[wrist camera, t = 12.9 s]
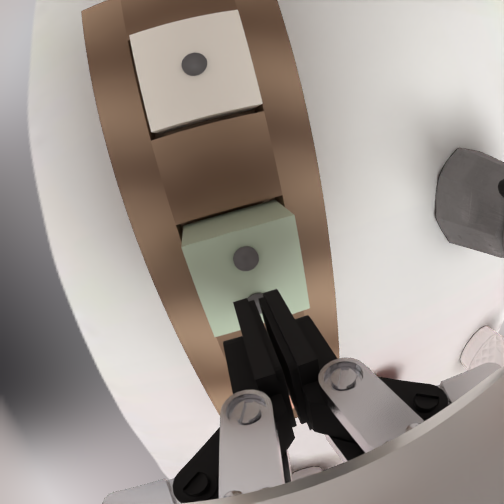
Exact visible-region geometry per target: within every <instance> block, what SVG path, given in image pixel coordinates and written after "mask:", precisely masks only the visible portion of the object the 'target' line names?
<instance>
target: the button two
mask: <svg viewBox="0 0 504 504" xmlns="http://www.w3.org/2000/svg"><path fill="white" fill-rule="evenodd" d="M181 248H182V251H183V254H184V257H185V259H186V262H187V265H188V268H189V271H190V274H191V276H192V279H193V282H194V285H195V287H196V290H197V293H198V296H199V298H200V301H201V304H202V306H203V309H204V311H205V314H206V317H207V319H208V322H209V324H210V327H211V329H212V332H213V334H214V337H218V336H221V335H225V334H228V333H232V332H236V331H239V330H241V329H240V326H239V322H238V318H237V315H236V311H235V308H234V304H233V302H235V301H238V300H242V299H245V298H247V299H248V301H252V300H254V301H255V304H256V306H257V309H258V311H259V313H260V316H261V318H262V321H263V323H264V319H263V315H262V311H261V308H260V304H259V300H258V298H262V297H263V293H265V292H268V291H271V290H274V289H278V291H279V293H280V294H281V296H282V298H283V300H284V301H285V303H286V305H287V306H288V308H289V310H290V312H291V313H292V314H294V313H297V312H300V311H303V310H306V309H309V308H310V305H309V298H308V292H307V285H306V279H305V273H304V266H303V260H302V254H301V249H300V243H299V237H298V231H297V226H296V220H295V215H294V214H293V213H291V212H290V211H289V210H288V209H286V208H285V207H284V206H282V205H281V204H280V203H279V202H277V201H276V200H273V201H269V202H265V203H261V204H257V205H254V206H250V207H246V208H243V209H239V210H235V211H232V212H228V213H225V214H221V215H218V216H214V217H211V218H207V219H204V220H200V221H197V222H194V223H190V224H187V225H184V226H183V235H182V245H181Z"/></svg>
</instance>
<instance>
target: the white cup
mask: <svg viewBox="0 0 504 504" xmlns="http://www.w3.org/2000/svg"><path fill="white" fill-rule="evenodd" d="M460 361H461V364H462V365H463V366H464V367H465V368H466V369H467V371H468V370H471V369H473V368H475V367H477V366H479V365H482V364H484V363H488V362H490V363H496V364H498V365H500V366H501V367H503V366H504V336H502V335H501V334H498V333H497V332H496V331H494V330H493V329H492V328H490V327H488V326H484V327H483V328H481V329H479V330H478V331H477V332H476V333H475V334H474V335H473V337H472V338H471V339H470V341H469V342H468V343H467V345H466V347H465V348H464V350H463V352H462V355H461V359H460Z"/></svg>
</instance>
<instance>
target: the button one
mask: <svg viewBox="0 0 504 504" xmlns="http://www.w3.org/2000/svg"><path fill="white" fill-rule="evenodd" d="M129 37H130V42H131V47H132V52H133V57H134V61H135V66H136V71H137V75H138V80H139V84H140V89H141V93H142V97H143V101H144V105H145V109H146V114H147V117H148V121H149V125H150V129H151V132H153V133H158V134H161V133H164V132H168V131H171V130H174V129H177V128H181V127H184V126H188V125H191V124H195V123H199V122H202V121H206V120H210V119H214V118H218V117H222V116H227V115H231V114H235V113H240V112H245V111H249V110H251V109H253V108H255V107H257V106H259V105H261V104H263V103H262V99H261V95H260V91H259V86H258V82H257V78H256V75H255V71H254V67H253V63H252V59H251V55H250V51H249V48H248V44H247V40H246V37H245V33H244V29H243V26H242V22H241V19H240V15H239V12H238V10H232V11H225V12H219V13H213V14H207V15H202V16H197V17H193V18H188V19H184V20H180V21H175V22H172V23H168V24H164V25H160V26H157V27H154V28H150V29H147V30H144V31H141V32H138V33H135V34H132V35H129Z"/></svg>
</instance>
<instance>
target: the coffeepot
mask: <svg viewBox="0 0 504 504" xmlns="http://www.w3.org/2000/svg"><path fill="white" fill-rule="evenodd" d="M435 207H436V219H437V221H438V224H439V226H440V228H441V230H442V232H443V233H444V234H445V236H446V237H447V239H448V241H449V243H453V244H456V245H460V246H463V247H467V248H470V249H474V250H477V251H480V252H484V253H487V254H490V255H494V256H497V257H500V258H504V162H502V161H500V160H498V159H496V158H493V157H491V156H489V155H487V154H484V153H482V152H480V151H474V150H469V149H463V148H458V149H457V150H456V151H455V152H454V153H453V154H452V155H451V157H450V158H449V159H448V160H447V162H446V163H445V165H444V167H443V169H442V172H441V174H440V176H439V180H438V184H437V190H436V202H435Z"/></svg>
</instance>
